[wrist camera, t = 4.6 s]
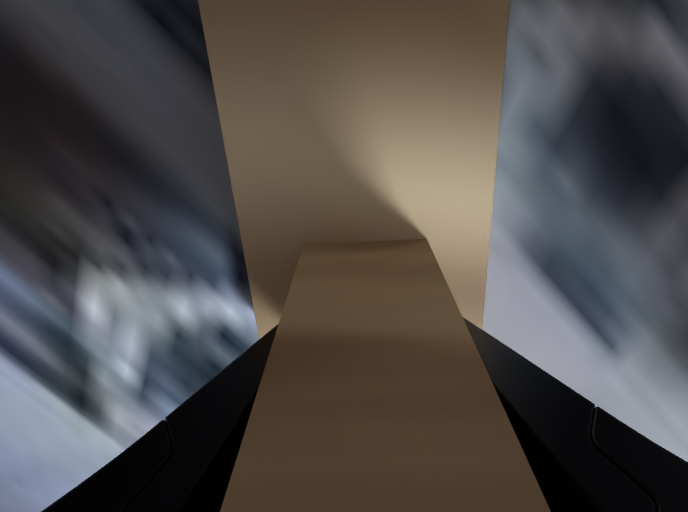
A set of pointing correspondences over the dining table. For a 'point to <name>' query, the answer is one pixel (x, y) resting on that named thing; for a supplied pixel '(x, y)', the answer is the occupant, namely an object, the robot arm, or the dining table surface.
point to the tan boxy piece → (367, 251)
